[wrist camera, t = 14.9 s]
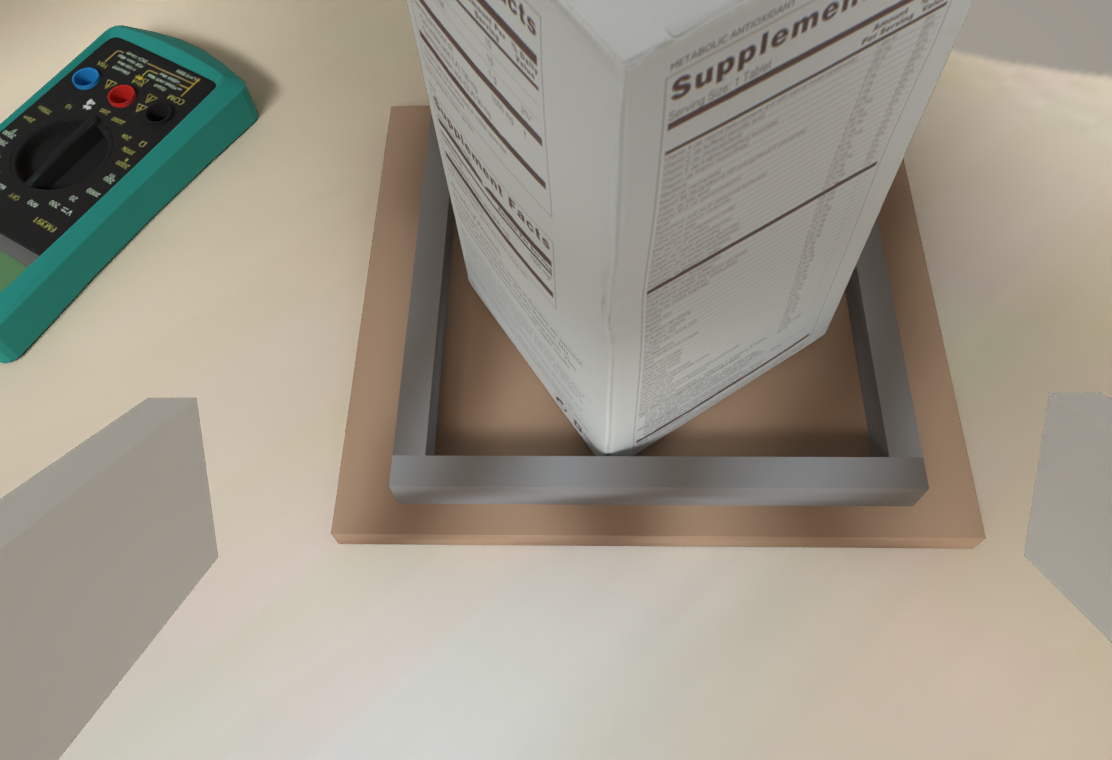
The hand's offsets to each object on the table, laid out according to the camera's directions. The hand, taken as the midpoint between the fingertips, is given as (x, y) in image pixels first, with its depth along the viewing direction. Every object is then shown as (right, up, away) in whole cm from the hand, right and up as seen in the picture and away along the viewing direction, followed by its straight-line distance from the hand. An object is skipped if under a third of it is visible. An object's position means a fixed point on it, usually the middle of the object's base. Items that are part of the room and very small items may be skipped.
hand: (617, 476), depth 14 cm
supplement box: (+2, +4, +18) cm, 18 cm away
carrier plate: (+2, +4, +19) cm, 19 cm away
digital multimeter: (-20, +9, +23) cm, 31 cm away
